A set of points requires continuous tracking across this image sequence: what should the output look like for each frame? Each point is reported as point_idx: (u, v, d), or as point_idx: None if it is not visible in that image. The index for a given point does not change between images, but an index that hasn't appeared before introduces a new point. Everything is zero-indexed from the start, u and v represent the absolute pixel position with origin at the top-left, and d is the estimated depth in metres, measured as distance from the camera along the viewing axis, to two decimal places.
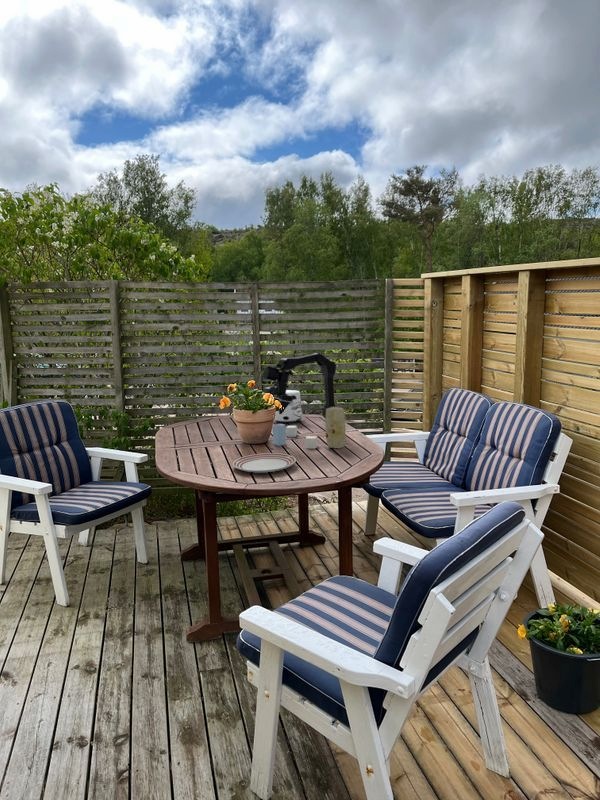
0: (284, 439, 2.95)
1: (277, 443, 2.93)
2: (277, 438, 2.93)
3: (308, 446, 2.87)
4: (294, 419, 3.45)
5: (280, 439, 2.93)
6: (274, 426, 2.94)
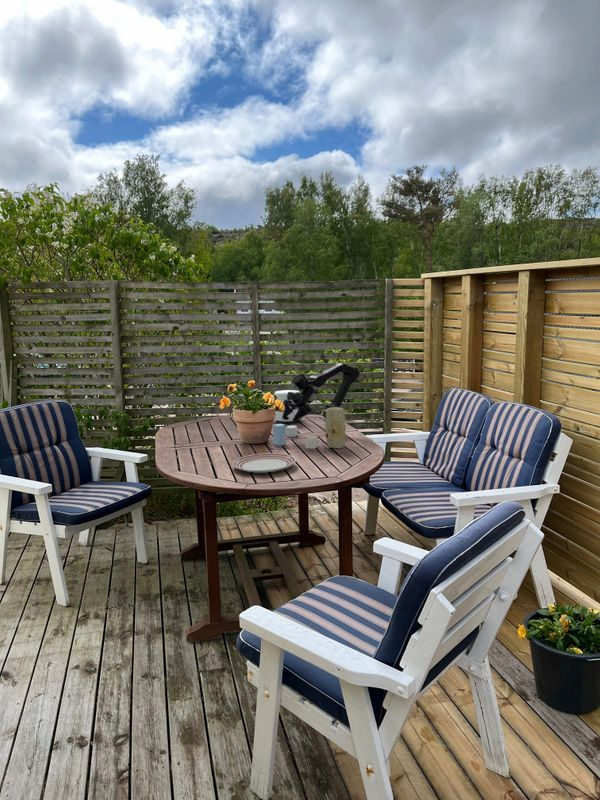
0: (284, 439, 2.95)
1: (277, 443, 2.93)
2: (277, 438, 2.93)
3: (308, 446, 2.87)
4: None
5: (280, 439, 2.93)
6: (274, 426, 2.94)
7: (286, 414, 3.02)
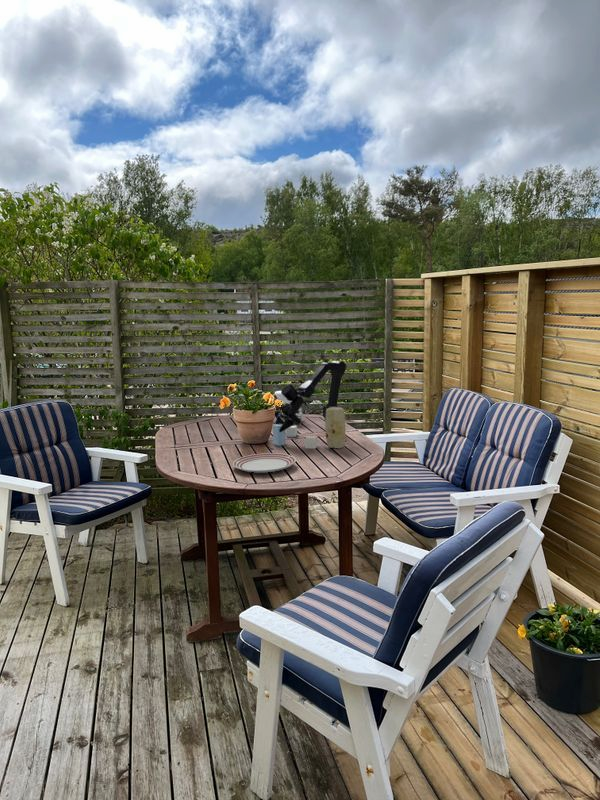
0: (284, 439, 2.95)
1: (277, 443, 2.93)
2: (277, 438, 2.93)
3: (308, 446, 2.87)
4: None
5: (280, 439, 2.93)
6: (274, 426, 2.94)
7: None
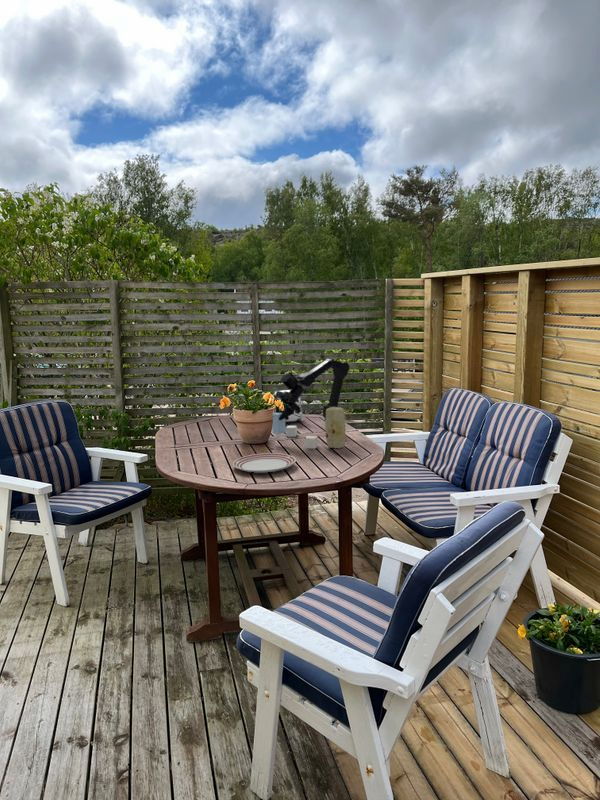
0: (284, 427, 2.94)
1: (277, 431, 2.92)
2: (276, 426, 2.92)
3: (308, 446, 2.87)
4: (294, 419, 3.45)
5: (279, 427, 2.92)
6: (274, 414, 2.93)
7: None
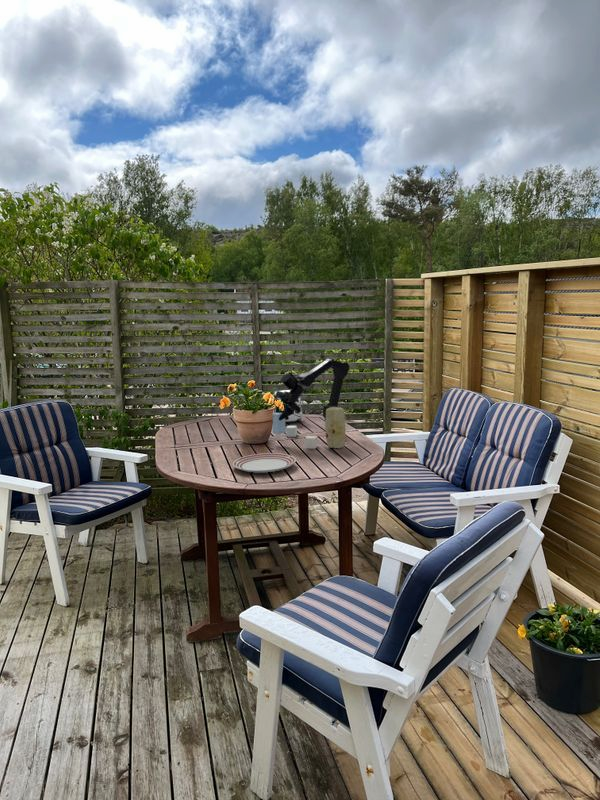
0: (284, 427, 2.94)
1: (277, 431, 2.92)
2: (276, 426, 2.92)
3: (308, 446, 2.87)
4: (294, 419, 3.45)
5: (279, 427, 2.92)
6: (274, 414, 2.93)
7: None
